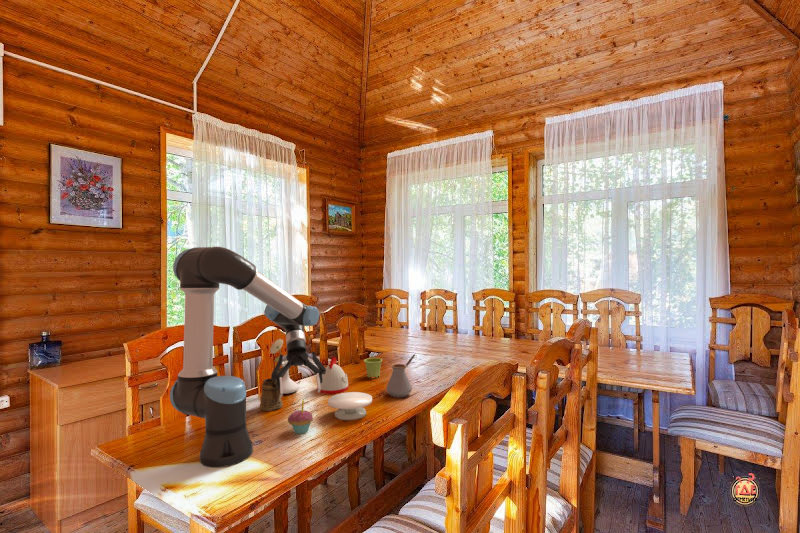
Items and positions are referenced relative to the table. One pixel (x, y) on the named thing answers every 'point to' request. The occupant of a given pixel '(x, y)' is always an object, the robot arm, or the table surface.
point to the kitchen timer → (334, 379)
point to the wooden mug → (270, 395)
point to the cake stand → (350, 405)
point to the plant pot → (373, 366)
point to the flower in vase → (287, 383)
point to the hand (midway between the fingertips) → (300, 392)
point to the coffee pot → (399, 381)
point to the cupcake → (300, 420)
